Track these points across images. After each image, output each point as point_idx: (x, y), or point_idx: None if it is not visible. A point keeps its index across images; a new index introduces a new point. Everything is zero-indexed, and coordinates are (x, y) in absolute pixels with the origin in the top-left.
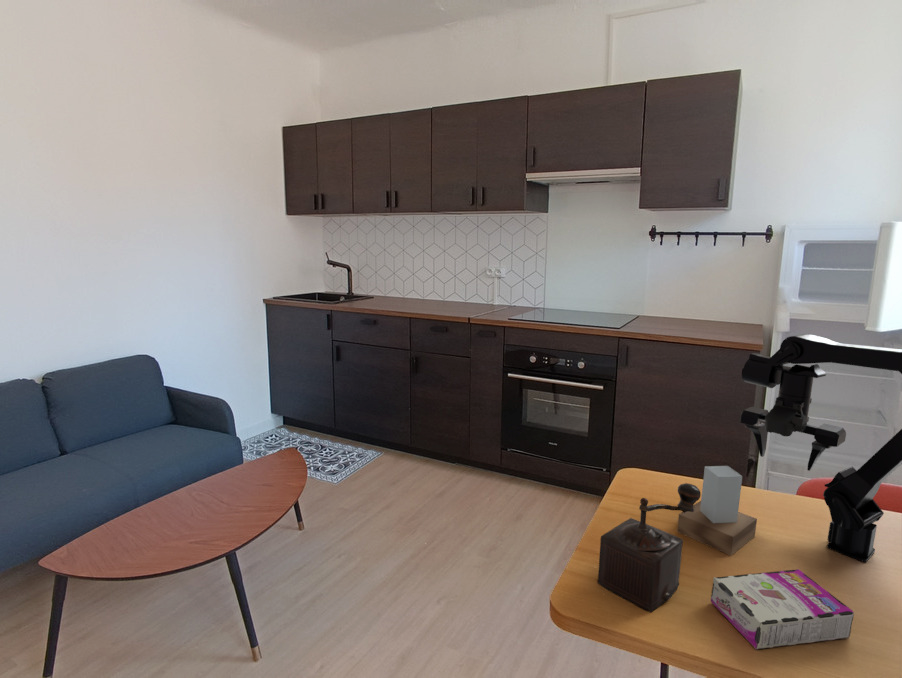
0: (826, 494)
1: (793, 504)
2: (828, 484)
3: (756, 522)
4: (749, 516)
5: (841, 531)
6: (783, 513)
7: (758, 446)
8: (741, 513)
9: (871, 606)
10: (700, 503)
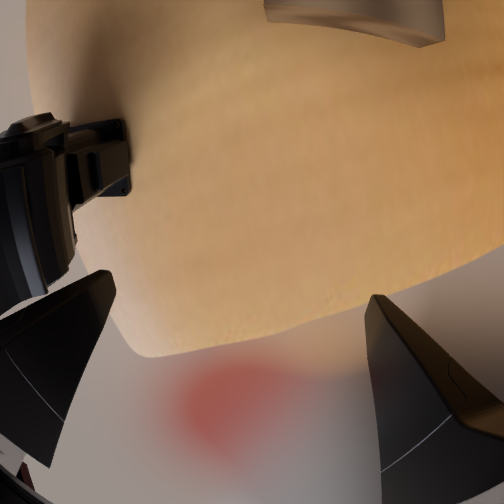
0: (37, 151)
1: (261, 292)
2: (5, 169)
3: (265, 8)
4: (289, 2)
5: (75, 139)
6: (262, 225)
7: (423, 334)
8: (317, 3)
9: (43, 8)
10: (435, 2)
